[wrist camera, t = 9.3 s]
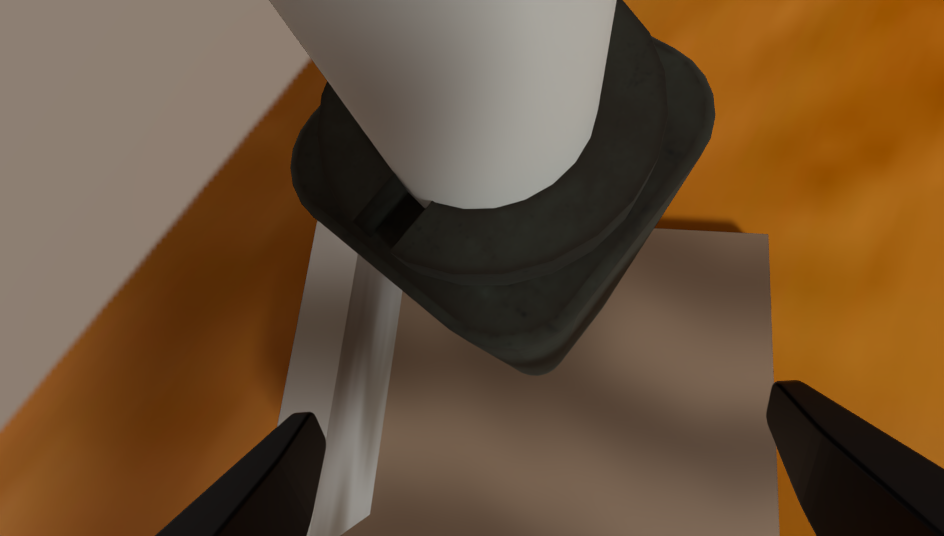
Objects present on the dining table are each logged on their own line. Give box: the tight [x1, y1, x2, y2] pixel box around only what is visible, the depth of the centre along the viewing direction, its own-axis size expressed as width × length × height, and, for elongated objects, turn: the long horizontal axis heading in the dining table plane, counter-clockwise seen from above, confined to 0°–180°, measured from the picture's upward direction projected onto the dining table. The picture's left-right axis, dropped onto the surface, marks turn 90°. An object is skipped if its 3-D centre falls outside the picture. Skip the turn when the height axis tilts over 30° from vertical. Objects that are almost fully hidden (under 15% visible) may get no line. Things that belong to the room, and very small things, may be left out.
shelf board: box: [277, 220, 779, 536], centre depth 16 cm, size 14×18×6 cm
